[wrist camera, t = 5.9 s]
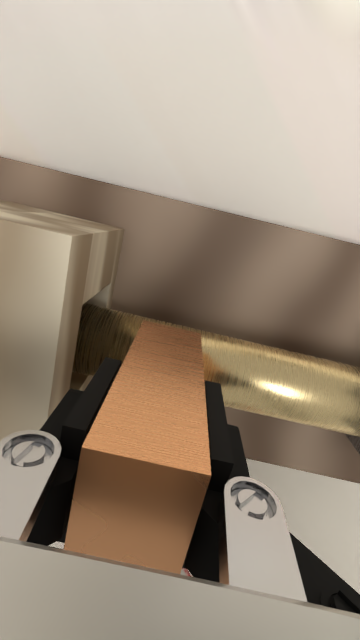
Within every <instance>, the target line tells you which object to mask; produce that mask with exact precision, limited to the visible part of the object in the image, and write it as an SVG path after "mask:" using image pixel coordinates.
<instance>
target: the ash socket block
mask: <svg viewBox="0 0 360 640" xmlns="http://www.w3.org/2000/svg"><path fill="white" fill-rule="evenodd" d="M124 230H125V229H122V228H118V227H114V226H110V225H105V224H101V223H97V222H93V221H89V220H85V219H81V218H76V217H72V216H68V215H64V214H60V213H56V212H52V211H47V210H43V209H39V208H35V207H31V206H27V205H23V204H18V203H14V202H9V201H0V441H1V440H2V439H3V438H5V437H7V436H9V435H10V434H12V433H16V432H19V431H24V430H40V429H41V427H42V426H43V425H44V423H45V422H46V421H47V419H48V418H49V416H50V415H51V414H52V412H53V411H54V410H55V408H56V407H57V405H58V404H59V403H60V401H61V400H62V399H63V397H64V396H65V394H66V393H67V392H68V390H69V389H76V390H81V391H84V390H85V389H86V387H87V386H88V384H89V382H90V381H91V379H92V378H93V376H89V375H84V374H80V373H76V372H72V369H73V362H74V356H75V349H76V343H77V336H78V330H79V323H80V317H81V310H82V305H83V304H84V303H87V304H91V305H96V306H100V307H104V308H108V309H110V308H111V303H112V297H113V291H114V286H115V280H116V275H117V269H118V263H119V258H120V252H121V247H122V241H123V235H124Z"/></svg>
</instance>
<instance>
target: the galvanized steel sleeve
mask: <svg viewBox="0 0 360 640" xmlns="http://www.w3.org/2000/svg"><path fill="white" fill-rule="evenodd" d="M345 435H346V436H347V438H348V439H349V440H350V442H351V443H352V445H353V446H354V447H355V449H356V450H357V452H358V453H359V454H360V437H358V436H353V435H349V434H345Z"/></svg>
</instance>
